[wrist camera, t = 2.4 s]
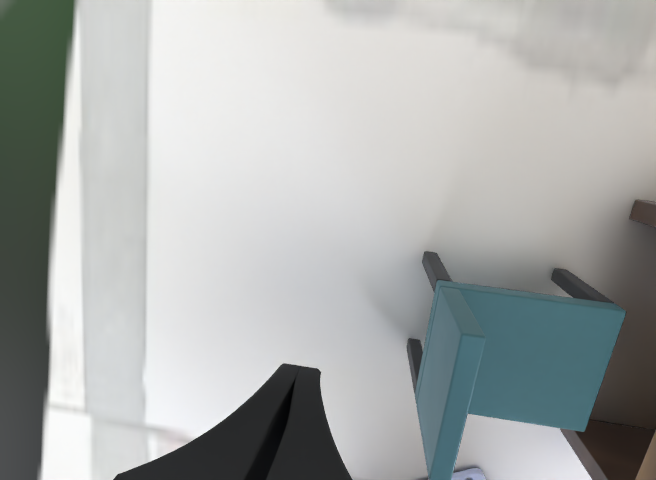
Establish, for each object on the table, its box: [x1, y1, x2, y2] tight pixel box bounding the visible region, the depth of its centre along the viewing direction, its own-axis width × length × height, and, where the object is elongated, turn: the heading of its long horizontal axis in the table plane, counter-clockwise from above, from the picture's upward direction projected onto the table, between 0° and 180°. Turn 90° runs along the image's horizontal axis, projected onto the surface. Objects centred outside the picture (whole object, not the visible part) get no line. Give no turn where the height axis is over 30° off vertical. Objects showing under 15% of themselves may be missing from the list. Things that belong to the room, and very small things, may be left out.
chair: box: [407, 252, 626, 480], centre depth 17 cm, size 8×6×9 cm
